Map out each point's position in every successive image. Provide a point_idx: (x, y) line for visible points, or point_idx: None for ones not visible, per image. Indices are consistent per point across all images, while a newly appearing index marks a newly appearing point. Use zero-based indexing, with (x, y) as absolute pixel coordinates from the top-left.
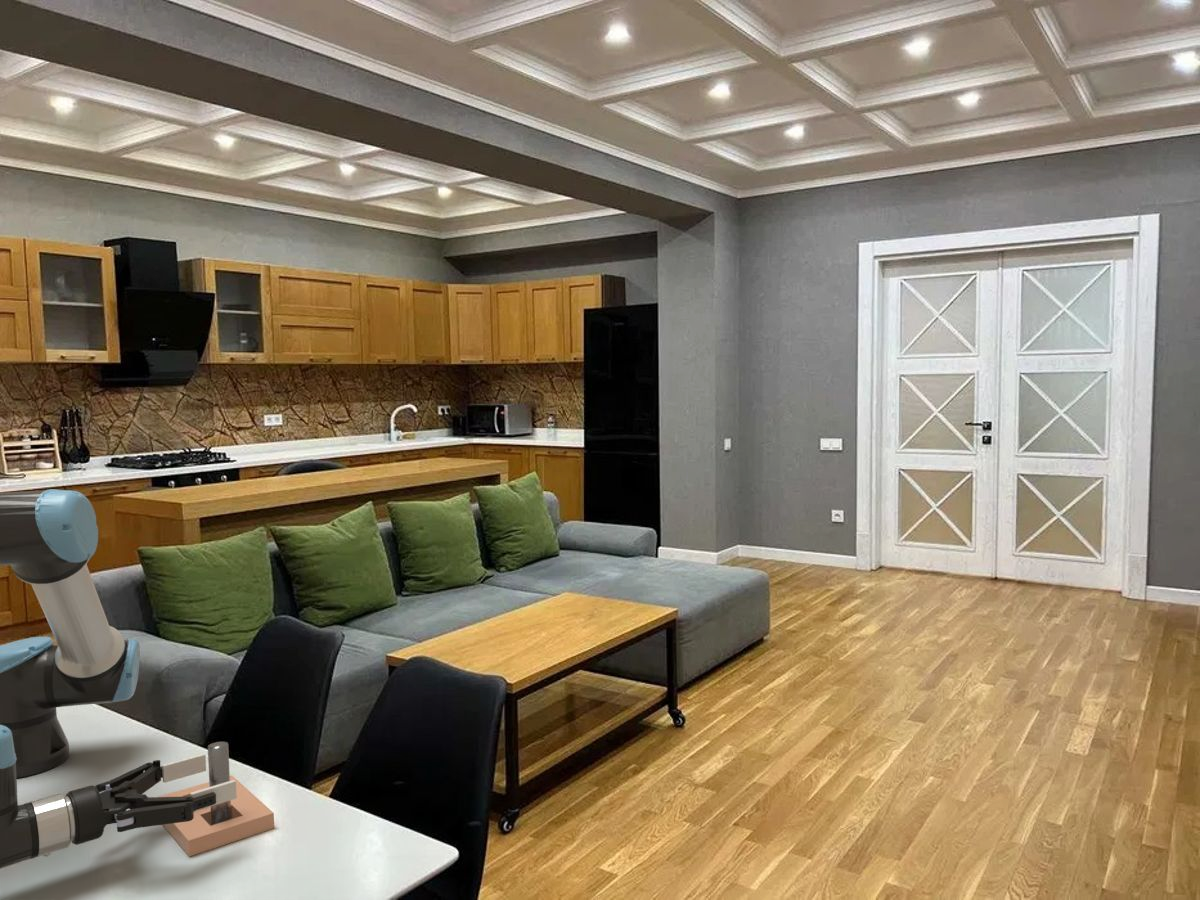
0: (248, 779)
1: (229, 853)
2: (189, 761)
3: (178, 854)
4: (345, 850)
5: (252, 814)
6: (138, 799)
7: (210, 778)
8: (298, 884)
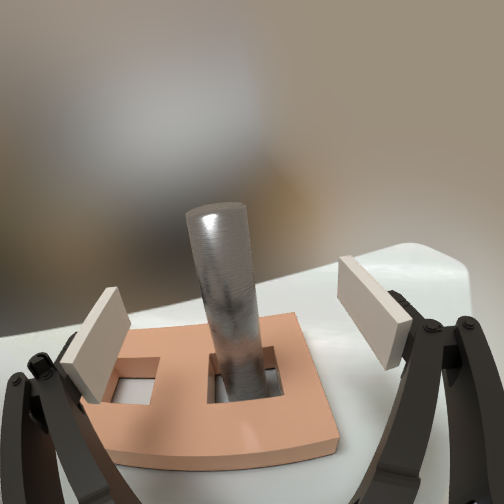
0: None
1: (350, 391)
2: (104, 316)
3: (300, 473)
4: (392, 284)
5: (279, 334)
6: (410, 499)
7: (234, 309)
8: (460, 316)
